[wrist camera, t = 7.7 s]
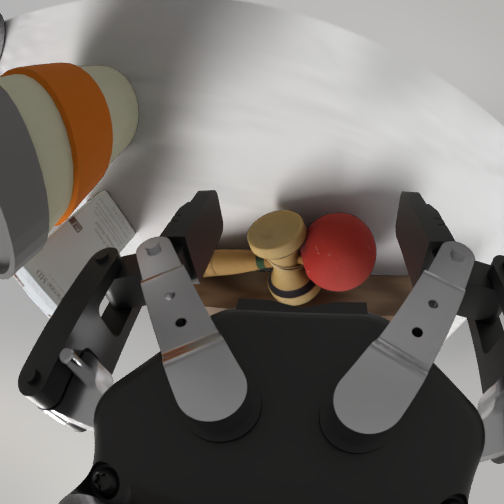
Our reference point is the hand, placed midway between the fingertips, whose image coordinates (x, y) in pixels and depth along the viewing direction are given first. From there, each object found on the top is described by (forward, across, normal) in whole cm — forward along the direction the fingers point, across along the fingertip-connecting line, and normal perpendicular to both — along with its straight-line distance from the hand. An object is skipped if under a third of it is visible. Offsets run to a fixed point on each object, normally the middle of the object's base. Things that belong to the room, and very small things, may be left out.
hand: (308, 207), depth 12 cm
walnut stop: (+10, 0, +13) cm, 17 cm away
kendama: (+10, +4, +9) cm, 14 cm away
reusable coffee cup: (+10, +18, -5) cm, 21 cm away
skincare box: (+10, +20, +6) cm, 24 cm away
